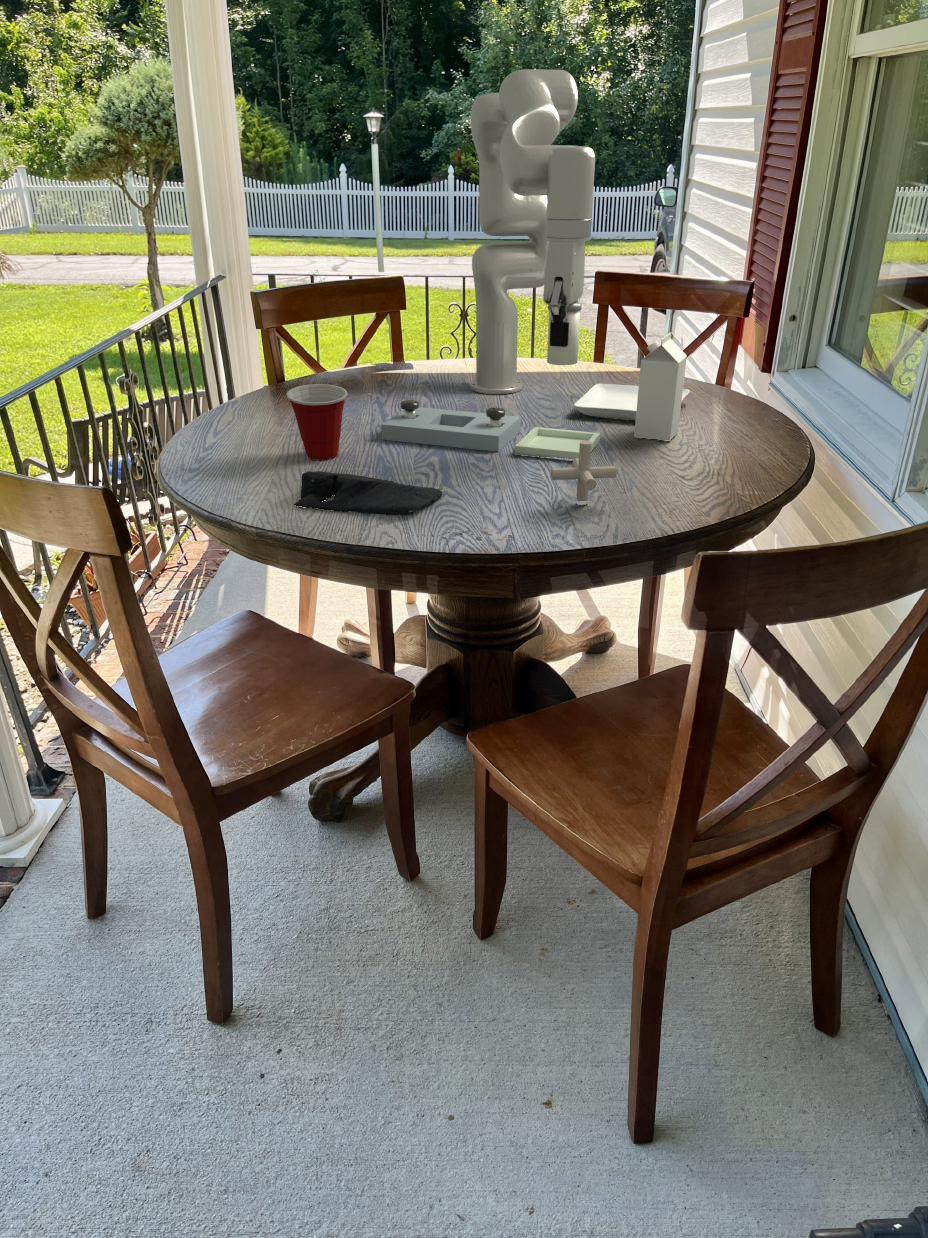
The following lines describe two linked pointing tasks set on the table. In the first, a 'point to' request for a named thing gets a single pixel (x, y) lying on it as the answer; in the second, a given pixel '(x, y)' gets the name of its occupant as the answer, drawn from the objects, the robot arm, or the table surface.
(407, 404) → the plunger
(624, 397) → the salad plate
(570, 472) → the pipe connector
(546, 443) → the tray
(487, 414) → the plunger
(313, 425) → the plastic cup
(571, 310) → the cartridge
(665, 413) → the milk carton
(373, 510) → the dark slate chunk
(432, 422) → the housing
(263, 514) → the table surface
